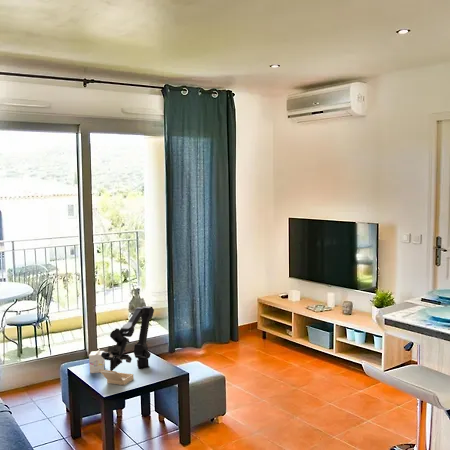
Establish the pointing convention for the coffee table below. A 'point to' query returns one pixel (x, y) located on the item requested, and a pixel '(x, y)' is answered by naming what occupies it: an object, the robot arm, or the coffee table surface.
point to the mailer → (124, 376)
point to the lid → (111, 375)
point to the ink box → (96, 361)
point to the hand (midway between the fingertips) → (110, 370)
